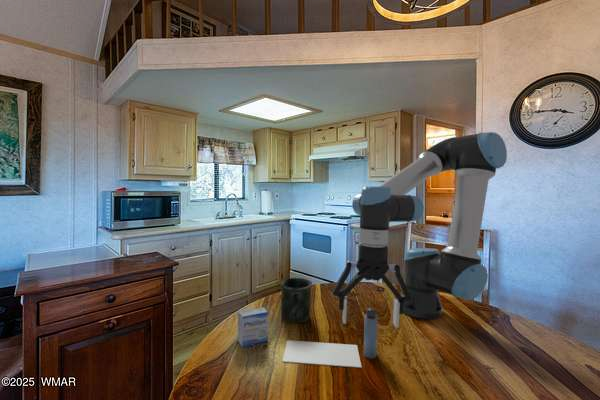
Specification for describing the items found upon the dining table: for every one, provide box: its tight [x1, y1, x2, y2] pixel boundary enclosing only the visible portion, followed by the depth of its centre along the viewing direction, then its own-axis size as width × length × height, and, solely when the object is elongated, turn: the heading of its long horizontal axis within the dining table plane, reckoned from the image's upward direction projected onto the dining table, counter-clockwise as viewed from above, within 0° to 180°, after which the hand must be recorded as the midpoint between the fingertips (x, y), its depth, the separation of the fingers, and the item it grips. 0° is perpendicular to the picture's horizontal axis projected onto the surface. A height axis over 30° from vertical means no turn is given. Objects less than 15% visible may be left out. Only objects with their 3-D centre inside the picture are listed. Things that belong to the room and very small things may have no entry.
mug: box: [280, 277, 313, 324], centre depth 96 cm, size 11×15×12 cm
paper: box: [282, 339, 363, 369], centre depth 77 cm, size 20×10×1 cm, turn 85°
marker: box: [363, 307, 379, 359], centre depth 76 cm, size 3×3×12 cm
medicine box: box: [237, 306, 269, 348], centre depth 82 cm, size 8×4×9 cm, turn 117°
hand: (369, 323), depth 76 cm, fingers open, 13 cm apart
